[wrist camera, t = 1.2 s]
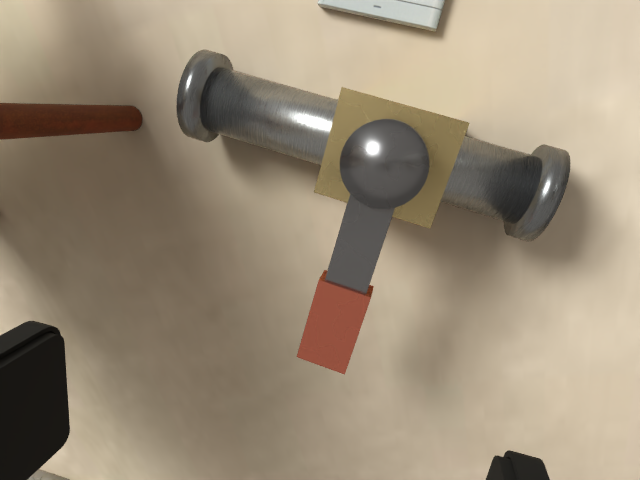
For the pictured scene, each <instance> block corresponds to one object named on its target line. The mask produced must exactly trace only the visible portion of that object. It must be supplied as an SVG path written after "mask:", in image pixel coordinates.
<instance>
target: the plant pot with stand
mask: <svg viewBox="0 0 640 480" xmlns="http://www.w3.org/2000/svg"><path fill="white" fill-rule="evenodd" d="M141 123H142V116H141V113H140V112H139V110H138V109H137V108H136V107H133V106H118V105H69V104H20V103H0V140H1V139H16V138H31V137H46V136H61V135H76V134H91V133H106V132H120V131H134V130H137V129H138V128H140V126H141Z"/></svg>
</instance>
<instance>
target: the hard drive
mask: <svg viewBox="0 0 640 480" xmlns="http://www.w3.org/2000/svg"><path fill="white" fill-rule="evenodd" d="M444 2H445V0H318V5H319V6H320V7H323V8H328V9H332V10H337V11H342V12H346V13H351V14H356V15H360V16H365V17H369V18H374V19H378V20H383V21H388V22H393V23H397V24H402V25H407V26H411V27H416V28H420V29H425V30H430V31H434V32H436V29H437V26H438V23H439V19H440V16H441V12H442V9H443V6H444Z"/></svg>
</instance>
